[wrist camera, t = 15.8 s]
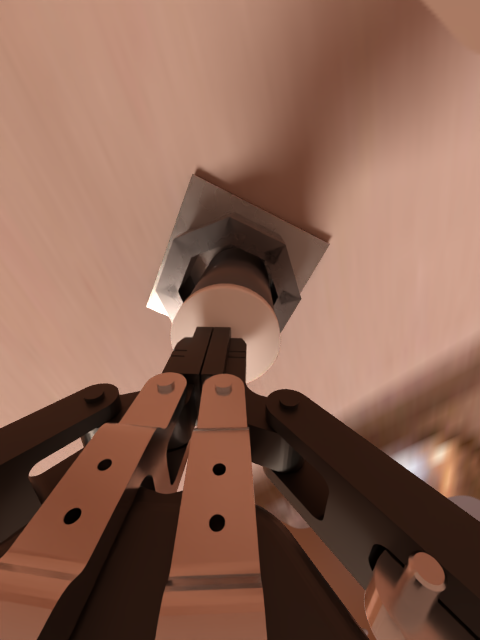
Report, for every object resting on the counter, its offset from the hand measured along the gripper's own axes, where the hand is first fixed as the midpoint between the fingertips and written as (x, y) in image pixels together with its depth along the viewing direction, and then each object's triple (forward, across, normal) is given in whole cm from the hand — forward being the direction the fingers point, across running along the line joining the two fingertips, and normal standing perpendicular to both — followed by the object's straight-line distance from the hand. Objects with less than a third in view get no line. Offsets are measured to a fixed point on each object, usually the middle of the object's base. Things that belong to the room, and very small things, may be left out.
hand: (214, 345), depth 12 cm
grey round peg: (+11, 0, 0) cm, 11 cm away
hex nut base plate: (+11, 0, 0) cm, 11 cm away
